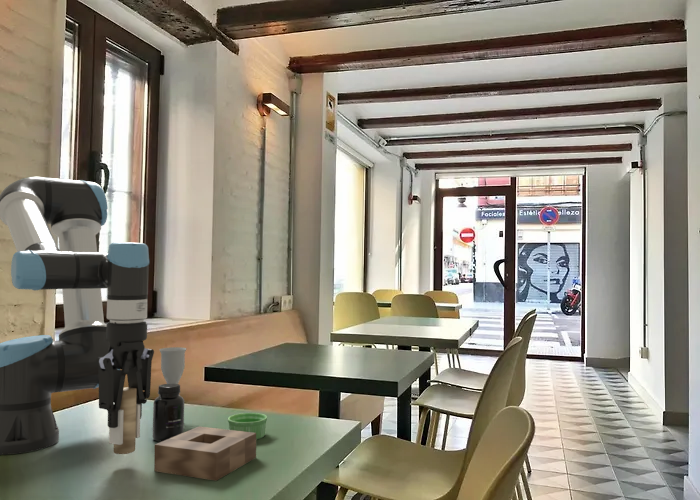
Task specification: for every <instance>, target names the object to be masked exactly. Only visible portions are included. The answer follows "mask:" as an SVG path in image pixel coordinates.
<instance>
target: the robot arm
mask: <svg viewBox="0 0 700 500" xmlns="http://www.w3.org/2000/svg"><path fill="white" fill-rule="evenodd" d="M107 220H108V201H107V197H106V193H105V191H104V189H103V188H102V186H101V185H100V184H98V182H97V183H96V182H93V181H86V180H83V179H78V180H75V179H74V180H73V179H66V178H65V179H64V178H52V177H43V176H28V177H25V178H24V177H23V178H21V179H18V180H16V181H15V180H14V181H13V182H11V183H10V184H9V185H7V186H6V187H4V189H3V190H1V192H0V221H1V222H2V224H4V225H5V226H7V228H8V230H9V234H10V236H11V239H12V241H13V244H14V247H15V251H16V252H15V253H14V254H13V255H12V258H11V264H10V265H11V266H10V267H11V268H10V275H11V282H12V286H13V287H14V288H15V289H18V290H32V291H41V290H43V291H44V290H62V300H63V301H62V302H63V304H62V305H63V312H64V313H63V315H64V328H63V329H62V330H61V331H60V332H59V334H58V340H54V339H53V337H52V335H49V334H41V335H32V336H24V337H18V338H15V339H10V340H9V339H8V340H5V341H3V342H0V456H1V455H14V454H15V455H17V454H23V453H29V452H34V451H39V450H43V449H46V448H49V447H51V446H53V445H56V443H58V442H59V440H60V429H59V426H58V424H57V421H56V418H55V415H54V412H53V408H52V405H51V404H52V402H51V401H52V394H54V393H63V392H70V391H72V392H73V391H79V390H88V389H93V390H96V389H97V388H98V408H99V409H103V410H106V411H107V427H108V429H109V431H108V432H109V434H108V443H109V444H113V445H114V444H117V445H121V444H123V413H124V410H121V409H120V407H121V400H122V394H123V388H124V387H125V383H126V382H125V380H126V377H127V384H128V385H127V387H133V388H136V389H137V394H136V439H138V438H140V437H141V419H142V416H143V415H142V414H143V413H142V412H143V407H142V406H143V405H145V404H147V401H148V399H149V398H150V397H151V383H152V381H151V379H152V362H153V358H154V354H155V351H154V349H151V348H146V346H145V343H144V341H146V340H147V339H148V322H147V321H146V320H145V319H147V318H148V298H149V297H148V294H149V271H150V269H149V268H150V267H149V265H150V255H149V254H150V253H149V246H148V245H147V244H146V243H142V242H120V241H119V242H111V243H110V244H109V245H108V249H107V251H103V252H99V251H98V247H97V238H96V235H98V233H100V232H101V230H102V227H103V226H104V225H105V224H106V222H107ZM49 225H50V227H49ZM54 236H56V237H57V238H58V244H57V241H56V240H55V238H54ZM102 289H107V290H106V292H107V296H106V297H107V299H106V320H109V321H108V322H107V323H105V321H104V320H105V319H104V311H103V310H104V309H103V298H102Z"/></svg>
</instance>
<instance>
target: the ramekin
mask: <svg viewBox="0 0 700 500" xmlns="http://www.w3.org/2000/svg"><path fill="white" fill-rule="evenodd" d="M267 420H268V416H267V415H266V414H264V413H258V412H244V413H242V412H240V413H236V414H233V415H230V416H228V418H227V422H228V430H235V431H243V432H252V433H256V441H257V440H260V439H262V438H263V437H264V436H265V435H266V424H267Z"/></svg>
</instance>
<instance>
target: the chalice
mask: <svg viewBox="0 0 700 500" xmlns="http://www.w3.org/2000/svg"><path fill="white" fill-rule="evenodd" d="M186 352H187V348H186V347H181V346H180V347H178V346H177V347H176V346H175V347H163V348H159V353H160V354H161V355H160V358H161V359H160V369H161V373H162V375H163V378H164V381H165V382H166V384H180V383H179V382H180V380H181V378H182V376H183V373H184V370H185V359H186V358H185V355H186V354H185V353H186Z"/></svg>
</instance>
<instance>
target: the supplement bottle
mask: <svg viewBox="0 0 700 500" xmlns="http://www.w3.org/2000/svg"><path fill="white" fill-rule="evenodd" d="M157 389H158V391H157V395H158V396H157V397H156V398H155V399H154V400H153V405H152V406H153V407H152V439H153V440H154V441H156V442H162V441H165V440H167V439H170V438H172V437H174V436H177V435H179V434H182V433H184V432H185V428H184V426H185V399H184V398H183V396H182V395H180V394H181V384H180V383H178V384H167V383H163V384H159V385H158V388H157Z"/></svg>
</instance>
